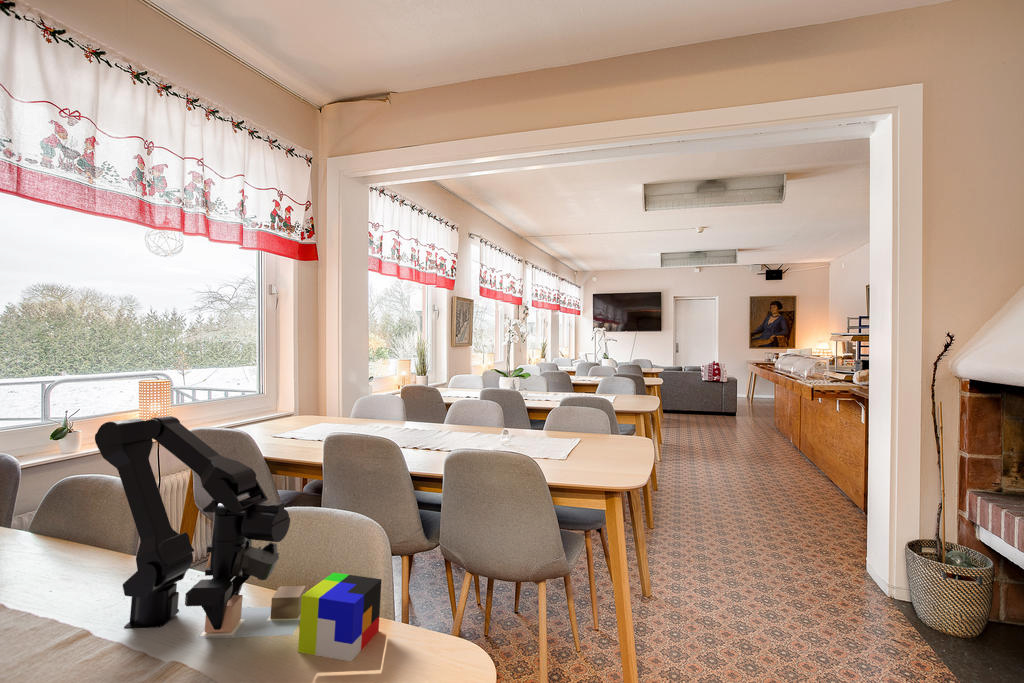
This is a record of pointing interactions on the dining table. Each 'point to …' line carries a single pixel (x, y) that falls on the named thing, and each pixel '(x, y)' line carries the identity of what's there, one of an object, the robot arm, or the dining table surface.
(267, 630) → the board
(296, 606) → the block
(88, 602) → the dining table surface
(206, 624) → the terracotta block
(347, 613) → the puzzle toy
